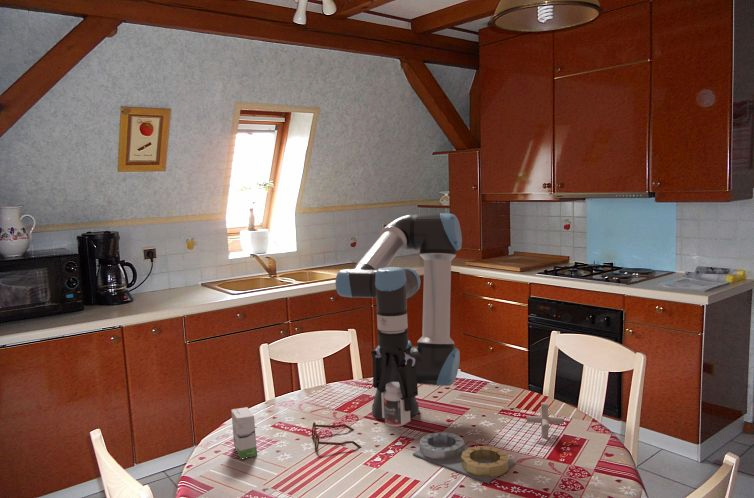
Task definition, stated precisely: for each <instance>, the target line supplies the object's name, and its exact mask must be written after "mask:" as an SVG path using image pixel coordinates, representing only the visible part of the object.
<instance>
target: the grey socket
mask: <svg viewBox="0 0 754 498" xmlns="http://www.w3.org/2000/svg"><path fill="white" fill-rule="evenodd" d="M436 444H448V445H451V447H447V448H436V447H433V446H432V445H436ZM464 445H465V440H464V439H463V438H462V437H461V436H460V435H458V434H455V433H451V432H441V431H440V432H439V431H438V432H437V431H436V432H432V433H427V434H426V435H423V436H421V438H420V440H419V450H420V452H421V453H422V455H423V456H425V457H427V458H430V459H433V460H444V461H445V460H451V459H456V458H458V457H459V456H461V455H462V452H463V451H464Z"/></svg>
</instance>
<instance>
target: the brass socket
mask: <svg viewBox="0 0 754 498" xmlns="http://www.w3.org/2000/svg"><path fill="white" fill-rule="evenodd" d="M470 447H471V448H468V449H467V450H465V451H463V452H462V456H461V467H462V468H463V469H464V470H465V471H466V472H467V473H470V474H473V475H475V476H482V477H493V476H497V477H500V476H502V475H503V474H505V473H506V472H508V471H509V469H508V460H509V454H507V453H506V451H504V450H503V449H500V448H497V447H494V446H487V445H478V446H473V447H472V446H470ZM481 458H484V459H492V460H495V461H497V462H494V463H489V464H486V463H478V462H475V461H473V460H476V459H481Z"/></svg>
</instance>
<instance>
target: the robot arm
mask: <svg viewBox="0 0 754 498" xmlns="http://www.w3.org/2000/svg"><path fill="white" fill-rule="evenodd" d="M462 243H463V237H462V230H461V226H460V222H459V218H458V217H457V216H456V215H455V214H453V213H443V212H440V213H410V214H405V215H402V216H400V217H398V218H396V219H394V220H392V221H391V222H389V223H387V224H386V225H385V226H383V228H382V229H381V230H380V231H379V233H378V235H377V239H376V241H375V242H374V243H373V245H371V247H370V248H369V249H368V250H367V251H366V252H365V254H364V255H363V256H362V257H361V259H359V261H358V262H357V263H356V264H355V265H354V266H353V268H352V269H351V268H350V269H349V268H346V269H340V270H339V271H338V272H337V273H336V276H335V283H334V284H335V289H336V293H337V294H338V295H339V297H340V296H341V297H344V298H350V299H353V298H363V299H364V298H365V299H367V298H369V299H375V301H376V302H375V303H376V322H377V323H376V324H377V330H378V331H377V343H378V344H377V345H378V346H377V347H376V348H375V349H373V350H371V351H370V353H371V354H370V355H371V357H372V384H373V385H372V387H373V388H374V389H376V392H375V394H374V399H373V403H372V405H371V412H372V413H371V414H372V416H373V417H374V418H376V419H378V420H381V421H385V409H384V395H385V393H386V392H387V391H386V384H387V383H390V382H399V385H400V389H401V393H402V398H400V410H401V424H403V425H402V426H404V425H406V424H408V423H410V422H411V419H413V418H416V417H417V415H419V413H420V410H419V403H418V401H417V399H416V397H417V396H419V390H418V385H427V386H428V385H430V386H436V387H440V386H443V387H447V386H448V387H450V386H451V385H453V384H454V382H455V381H456V379H457V376H458V372H459V369H460V368H459V367H460V360H461V357H460V355H461V354H460V350H459V348H457V347H455V342H454V340H453V339H452V338H451V336H450V334H451V333H450V331H451V288H452V286H451V285H452V282H451V281H452V278H451V277H452V261H453V260H454V259H455V257H457V251H460V250H461V249H462V247H463V246H462ZM412 250H413V251H419V256H420V258H422V260H423V290H422V291H423V296H422V298H423V299H422V300H423V301H422V331H421V333H422V336H421V337H420V338H419V339H418V340H417V343H416V344H417V346H414V345H413V346H412V342H411V340H409V331H408V330H407V329H408V327H409V324H408V323H409V322H408V302H407V300H408V299H409V298H411V297H413V296H415V295H416V293H417V292H418V291H419V290H420V286H421V284H422V283H421V282H422V281H421V277H420V274H419V273H418V272H417V271H416V270H415V269H413V268H411V267H404V268H403V267H401V266H400V267H399V266H390V264H391V263H393V260H394V259H395V257H396V256H397V255H399V254H402V253H403V252H404V251H412Z"/></svg>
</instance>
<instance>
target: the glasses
mask: <svg viewBox="0 0 754 498" xmlns="http://www.w3.org/2000/svg"><path fill="white" fill-rule="evenodd" d="M344 427H345V429H349V430H350V431H354V430H355V429H354V428H352V427H351V426H349V425H348V424H336V425H328V424H327V425H326V424H317V423H316V422H315V421H313V423H312V427H311V439H312V440H314V452H318V450H319V445H329V446H330V445H331V446H343V445H346V444H353V445H354V446H355V447H357V448H358V449H360V448H362V446H361V445H360V444H358V443H357V442H355V441H354V440H345V441H343V442H333V441H331V442H330V441H320V434H319V433H317V428H327V429H328V428H329V429H336V428H344Z"/></svg>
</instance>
